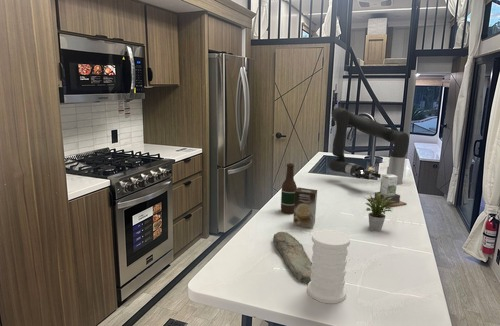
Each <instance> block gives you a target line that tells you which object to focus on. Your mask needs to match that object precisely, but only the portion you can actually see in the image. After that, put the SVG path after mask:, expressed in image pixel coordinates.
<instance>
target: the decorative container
mask: <svg viewBox="0 0 500 326" xmlns="http://www.w3.org/2000/svg"><path fill="white" fill-rule="evenodd" d="M311 242H312V244H313V245H312V247H311V248H312V252H313V253H312V255H311V262H312V266H311V271H312V273H311V277H310V278H311V281H310V282H309V283H307V287H306V288H307V290H306V292H307V294H308V296H310V297H311V298H312V299H314V300H315V301H317V302H320V303H324V304H329V305H330V304H339V303H341V302H343V301H345V299H346V298H347V293H348V292H347V288H346V286H345V283H346V279H345V277H346V273H347V272H346V266H347V262H348V260H347V256H348V247H349V246H350V244H351V238H350V236H349V235H347V234H346V233H345V232H342V231H340V230H335V229H330V228H329V229H319V230H315V231H313V233H312V234H311Z"/></svg>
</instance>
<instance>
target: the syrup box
mask: <svg viewBox="0 0 500 326" xmlns="http://www.w3.org/2000/svg"><path fill="white" fill-rule="evenodd" d="M380 179H381V180H380V188H379V192H380V194H382V195H384V196H386V195H387V197H389V196H395V194H397V192H396V191H397V185H398V184H397V179H398V177H397V176H395V175H393V174H387V173H384V174H381V178H380Z"/></svg>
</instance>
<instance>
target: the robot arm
mask: <svg viewBox="0 0 500 326" xmlns="http://www.w3.org/2000/svg"><path fill="white" fill-rule="evenodd" d="M331 118H332V120H333V121H334V122H336V131H335V135H334V138H333V143H332V150H331V151H332V155H333V156H335V157H337V158H335V159H331V160H329V162H328V168H329V170H330V171H334V172H338V173H344V174H346V175H348V176H350V177H353V178H356V179H365V180H369V179H370V178H372V177H374V178H378V179H382V174H380V173H379V171H377V170H372V169H369V170H368V169H365V167H364V166H363V165H359V164H357V163H354V162H353V163H352V162H348V161H346V157H345V145H346V144H345V142H346V141H345V140H346V134H347V131H348V130H347V129H348V125H349V126H350V127H351V128H354V129H355V130H358V131H359V132H362V133H363V134H367V135H368V136H371V137H375V138H380V139H383V140H385V141H387V142H389V143H390V144H392V145H393V149H392V150H391V151H389V152H390V153H389V161H388V166H387V167H386V174H393V175H395V176H397V177H398V179H397V185H401V184H403V178H404V171H405V165H406V164H405V163H406V155H407V153H408V151H409V150H408V149H409V145H410V137H409V134H408V133H407V132H405V131H401V130H395V129H392V128H388V127H386V126H384V125H383V124H382V123H380V122H378V121H377V120H374V119H371V118H367V117H365V116H361V115H358V114H355V113H352V112H351V111H349V110H348V109H346V108H343V107H335V108H334V109H333V110H332V111H331Z"/></svg>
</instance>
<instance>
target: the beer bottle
mask: <svg viewBox="0 0 500 326" xmlns="http://www.w3.org/2000/svg"><path fill="white" fill-rule="evenodd" d="M294 167H295V164H294V163H290V162H289V163H287V164H286V174H285V179H284V181H283V182H282V184H281V193H280V195H281V196H280V211H281V213H283V214H284V215H292V214H293V215H294V202H295V191H296V189H297V188H298V186H297V183H296V182H295V179H294V177H295V175H294V169H295V168H294Z"/></svg>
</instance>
